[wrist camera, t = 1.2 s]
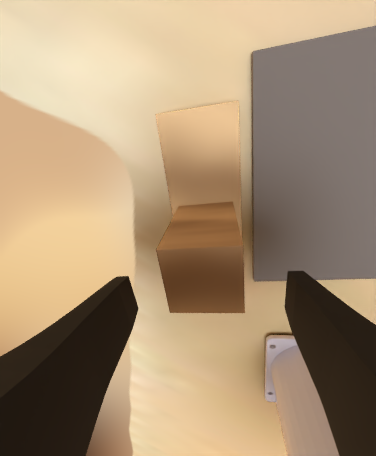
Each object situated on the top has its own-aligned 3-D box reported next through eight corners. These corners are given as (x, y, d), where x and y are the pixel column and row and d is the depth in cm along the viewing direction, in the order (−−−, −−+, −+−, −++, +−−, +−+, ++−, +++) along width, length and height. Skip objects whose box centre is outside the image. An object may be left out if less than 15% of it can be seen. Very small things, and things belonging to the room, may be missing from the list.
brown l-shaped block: (240, 244, 15) (256, 317, 9) (182, 247, 16) (160, 317, 10) (236, 103, 12) (258, 71, 6) (160, 115, 12) (107, 99, 6)
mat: (385, 274, 14) (390, 278, 14) (253, 278, 16) (254, 281, 16) (467, 9, 9) (478, 4, 9) (251, 54, 10) (253, 51, 10)
